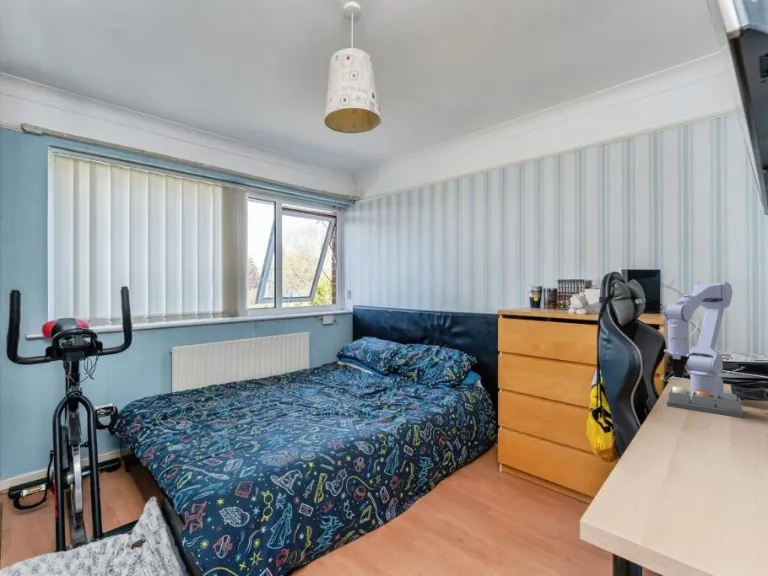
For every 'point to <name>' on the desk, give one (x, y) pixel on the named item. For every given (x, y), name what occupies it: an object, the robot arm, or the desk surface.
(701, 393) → the terracotta button
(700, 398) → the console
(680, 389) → the cream button
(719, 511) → the desk surface
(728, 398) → the bluegrey button
